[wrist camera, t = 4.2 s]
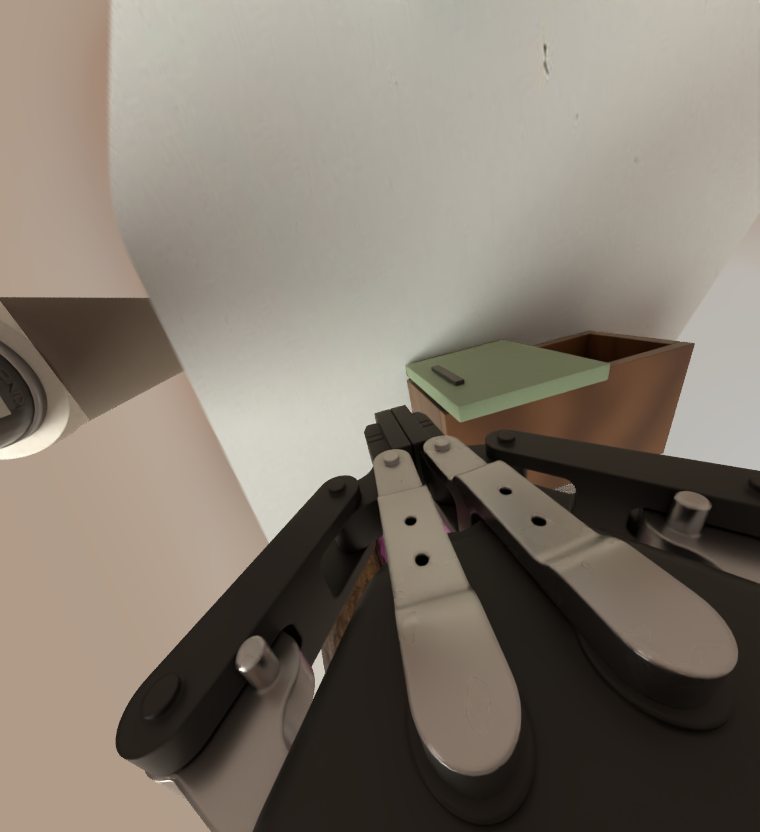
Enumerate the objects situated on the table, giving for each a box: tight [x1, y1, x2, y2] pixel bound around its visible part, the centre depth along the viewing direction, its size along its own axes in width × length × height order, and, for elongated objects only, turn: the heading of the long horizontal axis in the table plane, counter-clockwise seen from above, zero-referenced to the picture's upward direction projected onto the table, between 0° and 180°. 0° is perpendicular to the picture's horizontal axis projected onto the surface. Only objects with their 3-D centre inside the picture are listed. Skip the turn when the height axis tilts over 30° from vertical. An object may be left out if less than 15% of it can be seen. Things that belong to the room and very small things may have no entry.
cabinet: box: [407, 331, 694, 489], centre depth 23 cm, size 18×9×8 cm, turn 102°
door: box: [406, 340, 610, 422], centre depth 19 cm, size 9×1×10 cm, turn 102°
